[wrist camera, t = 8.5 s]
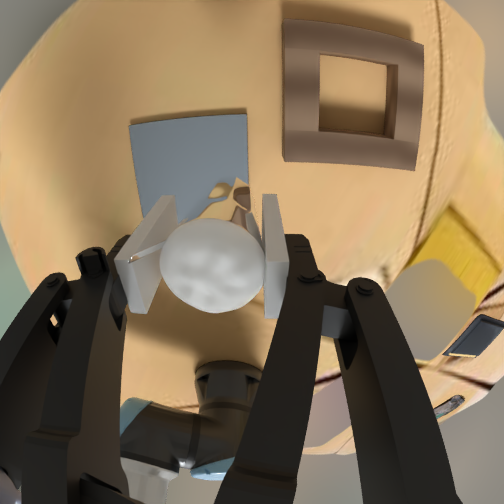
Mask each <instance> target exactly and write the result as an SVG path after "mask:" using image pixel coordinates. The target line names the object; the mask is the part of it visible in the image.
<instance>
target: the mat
mask: <svg viewBox="0 0 504 504" xmlns="http://www.w3.org/2000/svg"><path fill="white" fill-rule="evenodd" d="M129 131H130V140H131V147H132V155H133V161H134V168H135V174H136V180H137V186H138V192H139V197H140V203H141V208H142V213H143V218H145V216H146V215H147V214H148V212H149V211H150V210H151V209H152V207H153V206H154V205H155V204H156V202H157V201H158V200H159V199H160V197H161V196H163V195H175V203H176V212H177V220H178V224H179V223H180V222H181V221H182V220H183V219H184V217H185V216H186V215H187V214H188V213H189V211H190V210H191V209H192V207H193V206H194V205H195V203H196V202H197V201H198V199H199V198H200V197H201V196H202V194H203V193H204V192H205V190H206V189H207V188H208V187H209V186H210V185H211V184H213V183H214V182H215V181H217V180H218V179H219V178H221V177H237V178H239V179H240V180H242V181H243V182H245V183H246V184H248V145H247V114H231V115H212V116H199V117H188V118H178V119H169V120H161V121H154V122H147V123H141V124H135V125H130V126H129Z"/></svg>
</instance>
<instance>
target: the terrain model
mask: <svg viewBox="0 0 504 504" xmlns="http://www.w3.org/2000/svg"><path fill="white" fill-rule="evenodd" d="M464 401H465V400H464V399H463V398H462V397H461V396H460V395H455V396H453V397H452V398H450V399H449V400H447V401H446V402H444V403H442V404H441V405H439V406H437V407H436V408H434V409H433V410H434V413H435V416H436V419H438V418H440V417H441V416H444V415H446V414H448V413H449V412H451V411H453V410H454V409H456V408H457V407H458V406H459V405H461V404H462V403H463V402H464Z"/></svg>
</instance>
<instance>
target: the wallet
mask: <svg viewBox="0 0 504 504" xmlns="http://www.w3.org/2000/svg"><path fill="white" fill-rule="evenodd" d="M503 329H504V322H503V321H500V320H497V319H494V318H491V317H489V316H486V315H483V314H480V315H479V316H477V317H476V318H475V320H474V321H473V322H472V323H471V324H470V325H469V327H468V328H467V329H466V330H465V331H464V332H463V333H462V335H461V336H460V337H459V338H458V339H457V340H456V341H455V342H454V343H453V344H452V345H451V346H450V347H449V348H448V349H447V350H446V351H445V352H444V353H443V354H442V355H446V356H459V357H472V358H476V357H477V356H479V355H480V354H481V353H482V352H483V351H484V350H485V349H486V348H487V347H488V346H489V345H490V343H491V342H492V341H493V340H494V339H495V338H496V337H497V336H498V335H499V334H500V332H501V331H502V330H503Z"/></svg>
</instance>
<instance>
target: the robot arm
mask: <svg viewBox="0 0 504 504" xmlns="http://www.w3.org/2000/svg"><path fill="white" fill-rule="evenodd" d="M177 226H178V220H177V212H176V203H175V195H163V196H161V197H160V199H159V200H158V201H157V202H156V204H155V205H154V206H153V207H152V209H151V210H150V211H149V212H148V214H147V215H146V216H145V218H144V219H143V220H142V221H141V223H140V224H139V225H138V227H137V228H136V229H135V231H134V232H133V233H132V235H125V236H124V237H122V238H121V239H119V240H118V241H117V243H116V244H115V245H114V247H113V248H112V249H111V251H110V252H109V253H108V255H107V256H106V253H105V250H104V249H103V248H101V247H92V248H88V249H86V250H84V251H82V252H80V253H79V254H78V255H77V256H76V261H77V264H78V267H79V269H80V272H81V278H80V279H78V280H73V281H68V280H67V278H66V275H65V274H64V273H60V272H59V273H53V274H50V275H49V276H48V277H46V278H45V279H44V280H43V281H42V282H41V283H40V285H39V286H38V287H37V289H36V290H35V291H34V292H33V294H32V295H31V297H30V298H29V299H28V301H27V302H26V303H25V304H24V306H23V307H22V309H21V310H20V312H19V313H18V314H17V316H16V317H15V319H14V320H13V322H12V323H11V325H10V326H9V328H8V329H7V331H6V332H5V334H4V335H3V337H2V338H1V340H0V504H166V497H167V490H168V483H169V481H170V480H172V479H174V478H175V477H177V476H178V475H179V468H180V467H181V468H186V469H190V470H191V471H190V473H191V475H192V477H194V478H199V479H203V480H223V481H222V484H221V486H220V489H219V491H218V494H217V497H216V499H215V502H214V504H293V501H294V496H295V492H296V487H297V473H298V469H299V464H300V460H301V455H302V450H303V445H304V441H305V435H306V430H307V425H308V420H309V415H310V409H311V403H312V397H313V391H314V384H315V378H316V371H317V364H318V356H319V348H320V340H321V335H322V336H327V337H332V338H333V339H334V344H335V348H336V352H337V357H338V361H339V365H340V370H341V375H342V379H343V384H344V389H345V394H346V398H347V403H348V409H349V414H350V419H351V425H352V430H353V436H354V442H355V448H356V454H357V460H358V467H359V474H360V482H361V489H362V496H363V504H463V503H462V502H461V500H460V499H459V497H458V496H457V494H456V490H455V486H454V481H453V477H452V472H451V468H450V464H449V460H448V456H447V453H446V449H445V445H444V442H443V439H442V435H441V432H440V429H439V425H438V422H437V419H436V416H435V413H434V410H433V407H432V404H431V401H430V399H429V396H428V393H427V390H426V388H425V385H424V382H423V380H422V377H421V375H420V372H419V370H418V367H417V365H416V362H415V360H414V357H413V355H412V353H411V350H410V348H409V346H408V344H407V341H406V339H405V336H404V334H403V332H402V330H401V328H400V325H399V323H398V321H397V319H396V317H395V315H394V313H393V311H392V308H391V306H390V304H389V302H388V300H387V298H386V296H385V294H384V292H383V290H382V288H381V287H380V286H379V284H378V283H376V282H375V281H373V280H371V279H368V278H362V277H358V278H353V279H352V280H350V281H349V283H348V284H347V286H343V285H338V284H334V283H331V282H329V281H327V280H326V277H325V275H324V274H323V273H322V272H321V271H320V270H318V268H317V265H316V262H315V259H314V255H313V253H312V249H311V246H310V243H309V240H308V239H307V238H306V237H305V236H304V235H303V234H284V230H283V225H282V220H281V214H280V209H279V204H278V199H277V194H263V199H262V245H263V249H264V254H265V276H264V284H263V286H264V315H265V318H278V321H277V324H276V328H275V331H274V335H273V338H272V342H271V345H270V349H269V352H268V356H267V359H266V362H265V366H264V369H263V372H261V371H260V370H258V369H257V368H255V367H253V366H251V365H248V364H245V363H241V362H235V361H216V362H211V363H208V364H205V365H203V366H201V367H200V368H199V369H198V370H197V372H196V376H195V388H196V393H197V397H198V402H199V414H196V413H192V412H188V411H183V410H179V409H175V408H172V407H168V406H164V405H161V404H158V403H154V402H153V401H147V400H143V399H139V398H135V397H132V398H129V399H127V400H126V401H125V402H124V403H123V405H122V406H121V408H120V394H121V375H122V361H123V350H124V340H125V331H126V322H127V316H126V313H125V310H124V309H125V307H126V305H127V303H128V305H129V308H130V311H131V313H140V314H147V313H148V310H149V308H150V305H151V303H152V300H153V298H154V295H155V293H156V290H157V288H158V286H159V283H160V281H161V279H162V274H161V270H160V254H161V250H162V248H161V249H159V250H157V251H155V252H153V253H151V254H149V255H147V256H144V257H142V258H140V259H138V260H136V261H134V262H132V263H130V264H129V263H128V262H129V260H130V258H131V256H132V255H133V254H135V253H137V252H139V251H142V250H144V249H146V248H148V247H151V246H153V245H155V244H157V243H160V242H162V241H164V240H166V239H167V238H168V237H169V235H170V234H171V233H172V232H173V230H174V229H175V228H176V227H177ZM53 314H54V316H55V318H56V320H57V322H58V323H57V324H56V325H55V326H54V325H53V324H52V322H51V320H50V318H51V317H52V315H53ZM20 485H21V492H20V491H19V490H18V489H19V487H20Z"/></svg>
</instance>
